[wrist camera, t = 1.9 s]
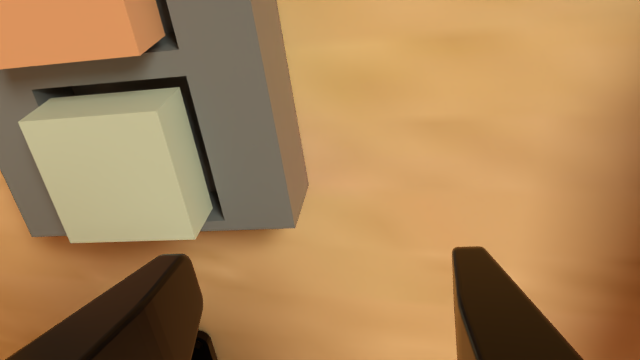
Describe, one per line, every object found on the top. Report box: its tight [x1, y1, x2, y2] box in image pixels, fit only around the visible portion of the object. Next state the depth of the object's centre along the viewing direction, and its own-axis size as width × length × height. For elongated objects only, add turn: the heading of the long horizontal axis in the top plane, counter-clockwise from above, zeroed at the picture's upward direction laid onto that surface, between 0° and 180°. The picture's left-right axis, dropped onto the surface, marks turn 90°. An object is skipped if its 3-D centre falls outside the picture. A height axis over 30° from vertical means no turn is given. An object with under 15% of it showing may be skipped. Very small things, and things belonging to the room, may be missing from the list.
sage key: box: [18, 87, 213, 243], centre depth 19 cm, size 4×4×2 cm
